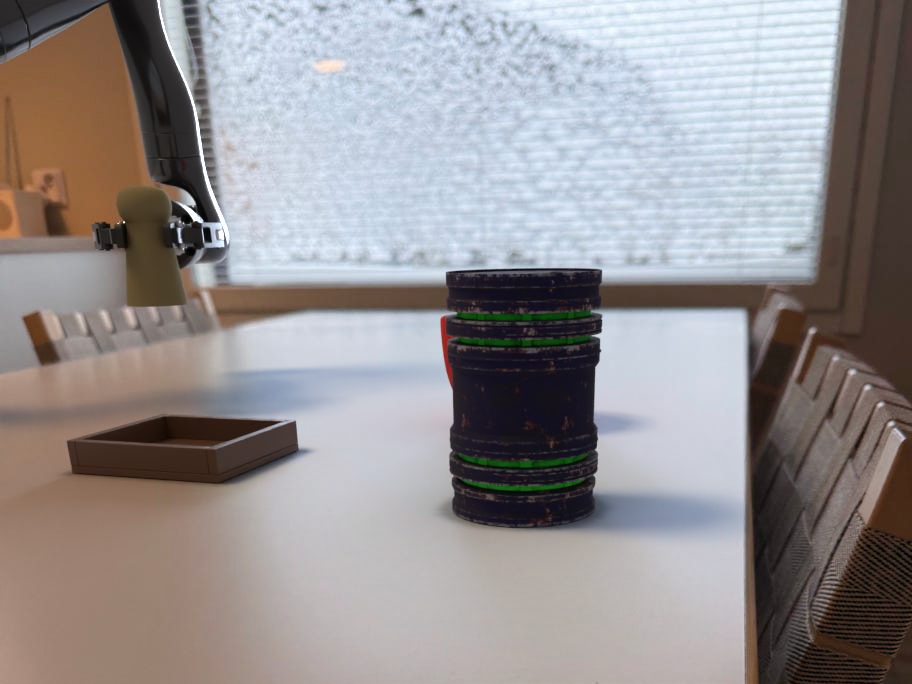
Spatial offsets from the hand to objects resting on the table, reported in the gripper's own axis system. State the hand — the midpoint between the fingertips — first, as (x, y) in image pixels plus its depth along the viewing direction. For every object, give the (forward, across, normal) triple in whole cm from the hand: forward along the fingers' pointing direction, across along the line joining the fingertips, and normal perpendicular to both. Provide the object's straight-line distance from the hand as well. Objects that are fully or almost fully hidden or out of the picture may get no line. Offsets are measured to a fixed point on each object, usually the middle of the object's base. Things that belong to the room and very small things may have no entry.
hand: (144, 236), depth 93 cm
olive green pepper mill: (-3, 0, +7) cm, 7 cm away
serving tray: (+23, +5, +17) cm, 29 cm away
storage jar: (+43, +29, +17) cm, 55 cm away
